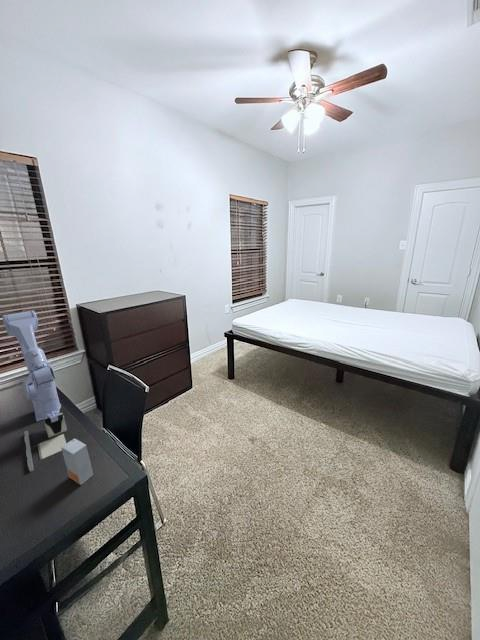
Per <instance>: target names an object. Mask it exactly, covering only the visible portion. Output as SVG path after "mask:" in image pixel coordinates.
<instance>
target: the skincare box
mask: <svg viewBox="0 0 480 640" xmlns="http://www.w3.org/2000/svg"><path fill="white" fill-rule="evenodd" d="M66 443H67V444H65V445H64V446H62V447H61V449H62V451H61V452H62V456H63V460H64V463H65V466H66V470H67V474H68V478H70V479H71V480H73V481H74V482H75V483H77V484H78V485H80V486H82V485H83V484H85V483H86V482H87V481H88V480H89V479H91V477H93V476H94V472H93V468H92V463H91V460H90V455H89V452H88V448H87V444H85V443H84V442H82V441H80V440H79V439H77V438H73V439H72V440H69V441H68V442H66Z"/></svg>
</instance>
